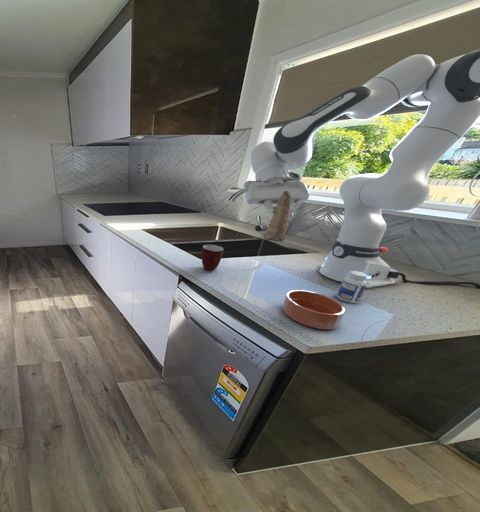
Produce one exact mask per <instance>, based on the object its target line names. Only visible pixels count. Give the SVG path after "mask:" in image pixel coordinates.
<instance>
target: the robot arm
mask: <svg viewBox="0 0 480 512" xmlns="http://www.w3.org/2000/svg"><path fill="white" fill-rule="evenodd" d="M399 103H401V104H402V105H403V106H406V107H409V108H421V107H426V106H427V109H426V112H425V113H424V115H423V116H422V118H421V119H420V120H419V121H418V122H417V123H416V124H415V125H414V126H413V127H412V128H411V129H409V131H408V132H407V133H406V134H405V135H404V137H403V138H402V139H401V140H400V141H399V142H398V143H397V144H396V145H395V146H394V147H393V149H391V150H390V152H389V159H390V161H391V163H390V165H389V167H388V168H387V169H386V171H384V173H382V174H381V173H361V174H356V175H353V176H350V177H348V178H346V179H345V180H344V181H343V182H342V183H341V185H340V186H339V196H340V197H341V198H342V201H343V214H344V215H343V221H342V224H341V228H340V230H339V233H338V236H337V239H335V240H334V242H333V245H332V247H331V249H332V250H330V252H329V253H328V255H327V257H325V261H324V262H323V264H321V265H320V269H319V270H318V271H319V273H320V274H321V275H322V276H324V277H326V278H328V279H331V280H334V281H336V282H340V283H342V282H343V279H344V278H345V277H348V276H349V273H350V271H358V272H362V273H365V274H366V275H367V278H366V279H365V281H366V282H367V285H366V287H365V289H370V288H375V287H383V286H390V285H395V284H396V280H395V279H398V277H399V276H401V281H402V282H405V283H411V284H420V285H421V284H430V285H444V284H449V285H450V284H451V285H472V286H474V287H476V288H477V289H480V283H477V282H474V281H453V280H439V281H438V280H417V281H416V280H409V279H407V276H406V274H405V273H402V272H401V271H398V270H397V269H395V268H393V267H390V265H389V264H388V263H387V262H386V261H385V260H383V258H381V257H380V253H382V254H387V253H388V252H389V248H388V247H384V246H379V245H380V243H381V241H382V240H383V237H384V235H385V232H386V230H387V223H386V221H385V220H384V218H383V214H382V210H383V211H389V212H390V211H391V212H393V211H395V212H397V211H398V212H404V211H411V210H413V209H415V208H418V207H419V206H421V205H422V204H423V203H424V202H425V201H426V200H427V199H428V197H429V195H430V185H429V183H428V178H429V175H430V173H431V171H432V170H433V168H434V166H435V165H436V164H437V163H438V162H439V161H440V160H441V159H442V158H443V157H444V156H445V154H446V153H447V152H449V150H451V148H452V147H454V146H455V145H456V144H457V142H459V141H460V140H461V139H462V138H463V137H464V136H465V135H466V133H468V131H470V130H471V128H472V127H473V126H474V125H475V123H476V122H477V121H478V119H479V118H480V48H478V49H475V50H472V51H470V52H467V53H465V54H461V55H459V56H456V57H453V58H450V59H447V60H445V61H443V62H440V63H435V60H434V59H433V57H431V56H430V55H427V54H424V53H423V54H422V53H419V54H413V55H410V56H408V57H406V58H405V57H404V59H401V60H399V61H398V62H397V63H396V62H395V63H394V64H392V65H391V66H389V67H388V68H385V69H384V70H383V71H381V72H380V73H378V74H376V75H375V76H374V77H372V78H371V79H369V80H368V81H367V82H365V83H364V84H361V85H356V86H352V87H350V88H348V89H345V90H344V91H342V92H341V93H339V94H337V95H336V96H334V97H332V98H330V99H329V100H327V101H325V102H324V103H322V104H320V105H318V106H317V107H315V108H314V109H312V110H311V111H309V112H307V113H306V114H304V115H302V116H301V117H298V118H296V119H293V120H291V121H289V122H287V123H284V125H282V126H281V127H280V128H279V129H278V130H277V131H276V132H275V134H274V136H273V140H272V141H273V142H272V141H267V140H265V141H263V142H260V143H259V144H257V145H256V146H254V148H253V149H252V151H251V153H250V164H251V168H252V171H253V173H254V174H255V175H254V179H255V180H247V181H245V182H244V183H243V189H244V196H245V202H246V203H247V204H249V205H263V207H264V208H265V209H267V210H268V213H269V214H270V215H271V214H272V215H273V214H274V213H275V212H277V209H276V206H274V205H277V203H278V201H279V199H280V197H281V195H282V194H283V192H284V191H288V192H290V195H291V206H290V213H289V214H292V213H293V212H294V211H295V210H294V205H296V204H297V205H298V204H303V203H305V202H306V201H307V200H308V199H309V198H310V192H309V189H308V187H307V185H306V183H305V182H304V181H303V180H302V179H303V176H302V175H301V174H300V173H297V172H293V171H292V170H295V169H298V168H301V167H303V166H305V165H306V164H307V163H308V162H310V160H311V159H312V157H313V137H314V135H315V134H316V132H317V131H318V130H319V129H321V128H322V127H324V126H326V125H328V124H329V123H331V122H332V121H334V120H335V119H338V118H339V117H341V116H343V115H346V116H347V117H348V118H350V119H352V120H356V121H369V120H372V119H374V118H377V117H379V116H380V115H383V114H384V113H385V112H387V111H389V110H390V109H392V108H393V107H395V106H396V105H398V104H399Z"/></svg>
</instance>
